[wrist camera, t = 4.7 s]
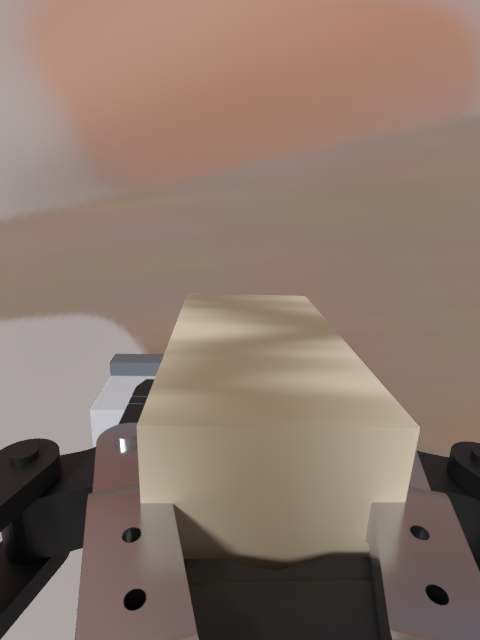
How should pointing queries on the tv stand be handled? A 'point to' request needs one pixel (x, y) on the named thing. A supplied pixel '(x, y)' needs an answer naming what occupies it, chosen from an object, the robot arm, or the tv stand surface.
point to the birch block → (269, 434)
